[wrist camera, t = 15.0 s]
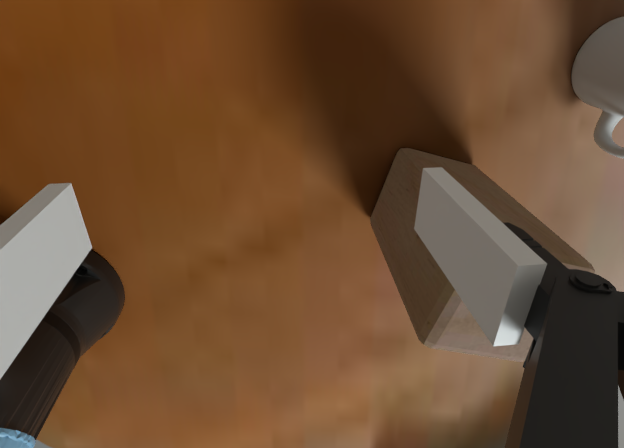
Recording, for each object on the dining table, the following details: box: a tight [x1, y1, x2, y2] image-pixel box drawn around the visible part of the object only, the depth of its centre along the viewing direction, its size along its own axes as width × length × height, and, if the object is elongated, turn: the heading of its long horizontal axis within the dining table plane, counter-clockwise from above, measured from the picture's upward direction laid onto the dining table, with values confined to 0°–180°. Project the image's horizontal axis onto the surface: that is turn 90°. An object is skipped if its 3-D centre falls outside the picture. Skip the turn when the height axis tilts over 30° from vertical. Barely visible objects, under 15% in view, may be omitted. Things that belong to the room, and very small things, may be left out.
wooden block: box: [370, 148, 595, 362], centre depth 37 cm, size 10×10×20 cm
